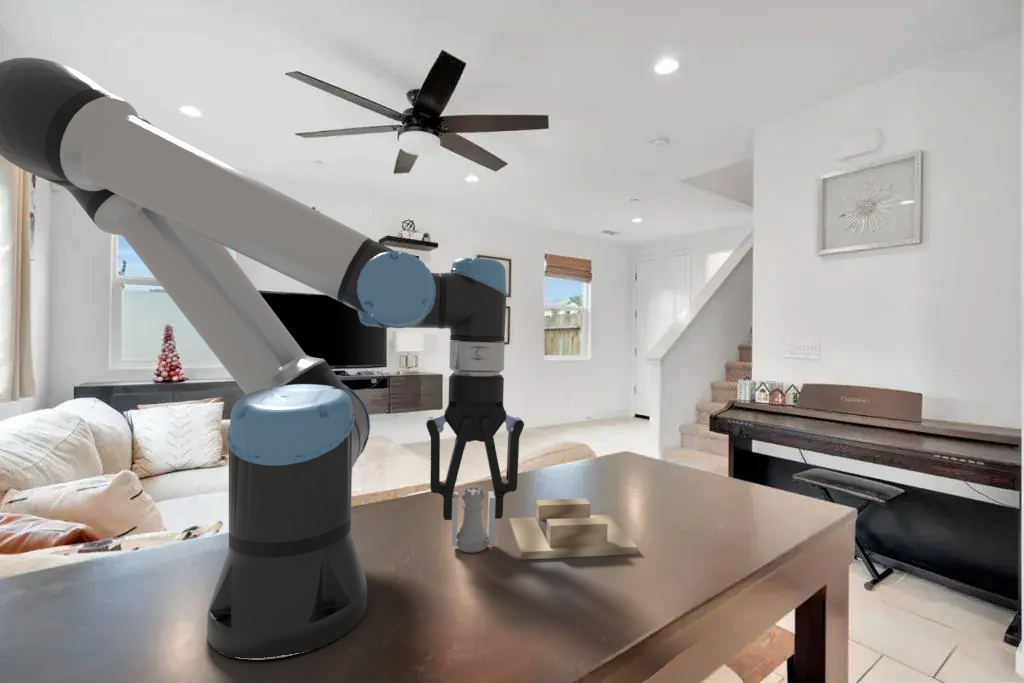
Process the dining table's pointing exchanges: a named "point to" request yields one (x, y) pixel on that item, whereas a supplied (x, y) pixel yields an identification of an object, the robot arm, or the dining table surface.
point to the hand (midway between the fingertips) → (472, 541)
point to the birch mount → (568, 532)
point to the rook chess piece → (472, 522)
